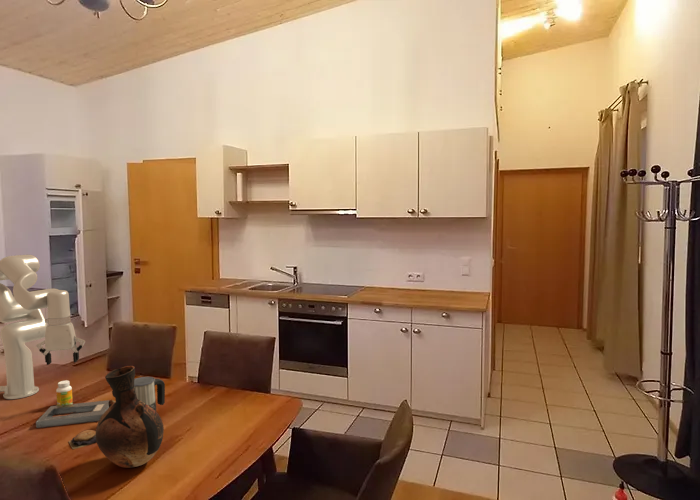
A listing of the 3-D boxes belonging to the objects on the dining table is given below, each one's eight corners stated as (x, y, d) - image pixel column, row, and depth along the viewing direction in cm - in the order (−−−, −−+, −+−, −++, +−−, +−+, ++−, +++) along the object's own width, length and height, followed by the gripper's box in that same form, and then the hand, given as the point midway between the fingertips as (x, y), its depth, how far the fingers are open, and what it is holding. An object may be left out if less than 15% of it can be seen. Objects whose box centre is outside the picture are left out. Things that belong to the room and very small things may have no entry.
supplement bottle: (60, 409, 183) (58, 385, 182) (55, 405, 186) (53, 382, 186) (75, 404, 187) (73, 381, 187) (69, 401, 191) (68, 378, 190)
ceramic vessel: (178, 456, 145) (173, 364, 143) (129, 486, 130) (124, 383, 128) (133, 442, 155) (128, 356, 153) (83, 468, 139) (77, 372, 137)
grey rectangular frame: (36, 428, 167) (35, 421, 167) (51, 412, 180) (50, 406, 180) (102, 420, 172) (102, 414, 172) (112, 405, 186) (111, 399, 185)
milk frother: (146, 425, 168) (144, 386, 167) (109, 422, 171) (107, 383, 170) (169, 409, 182) (167, 372, 181) (134, 406, 185) (132, 370, 184)
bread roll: (72, 452, 151) (71, 441, 150) (67, 442, 157) (67, 432, 157) (108, 441, 157) (107, 430, 157) (102, 432, 164) (101, 422, 164)
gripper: (31, 325, 178) (34, 367, 180) (80, 321, 182) (83, 363, 184) (39, 320, 186) (42, 362, 187) (86, 317, 190) (89, 357, 191)
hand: (62, 362), depth 185 cm, fingers open, 9 cm apart
